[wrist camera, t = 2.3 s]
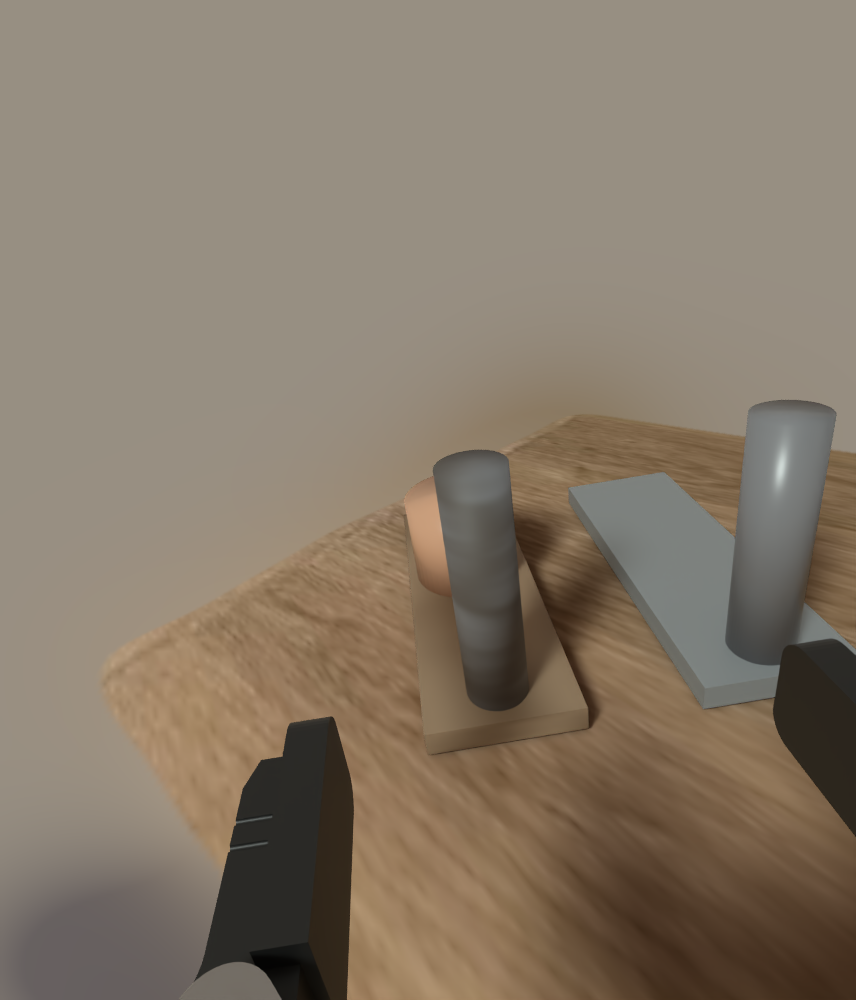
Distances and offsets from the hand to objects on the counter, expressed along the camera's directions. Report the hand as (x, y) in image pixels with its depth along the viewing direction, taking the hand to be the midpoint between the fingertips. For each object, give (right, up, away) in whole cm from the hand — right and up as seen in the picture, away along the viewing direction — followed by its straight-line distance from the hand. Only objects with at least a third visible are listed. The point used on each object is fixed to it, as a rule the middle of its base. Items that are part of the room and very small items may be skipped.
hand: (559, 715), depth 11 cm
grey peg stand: (+12, 0, +24) cm, 27 cm away
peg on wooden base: (0, -2, +24) cm, 24 cm away
